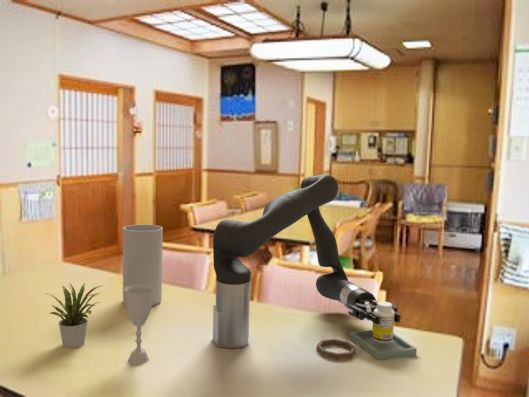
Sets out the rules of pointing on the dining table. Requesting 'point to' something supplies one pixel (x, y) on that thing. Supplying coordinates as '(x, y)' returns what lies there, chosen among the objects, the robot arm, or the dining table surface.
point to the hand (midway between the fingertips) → (389, 319)
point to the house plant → (73, 317)
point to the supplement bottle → (384, 323)
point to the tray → (383, 346)
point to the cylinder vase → (143, 258)
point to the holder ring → (332, 354)
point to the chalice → (138, 316)
